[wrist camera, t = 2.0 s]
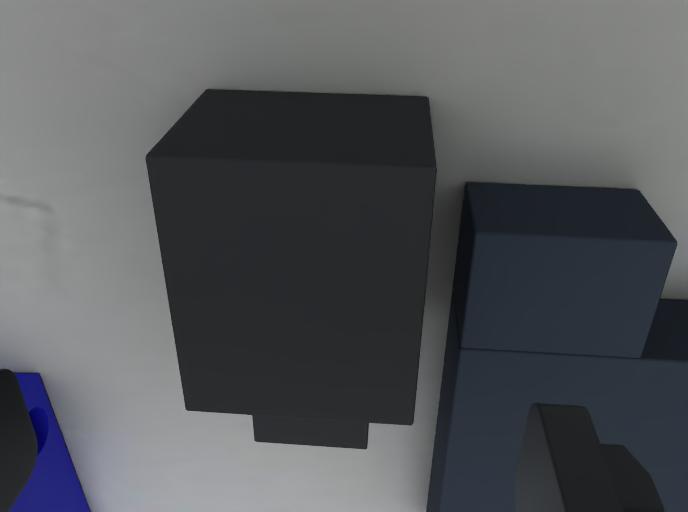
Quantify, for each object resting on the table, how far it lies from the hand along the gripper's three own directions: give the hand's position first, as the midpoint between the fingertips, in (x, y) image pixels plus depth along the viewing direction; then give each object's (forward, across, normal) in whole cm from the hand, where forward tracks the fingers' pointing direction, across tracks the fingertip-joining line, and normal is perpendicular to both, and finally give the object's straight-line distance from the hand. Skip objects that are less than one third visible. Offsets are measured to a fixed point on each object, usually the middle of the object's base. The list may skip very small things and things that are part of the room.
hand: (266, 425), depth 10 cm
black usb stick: (+7, 0, +1) cm, 7 cm away
